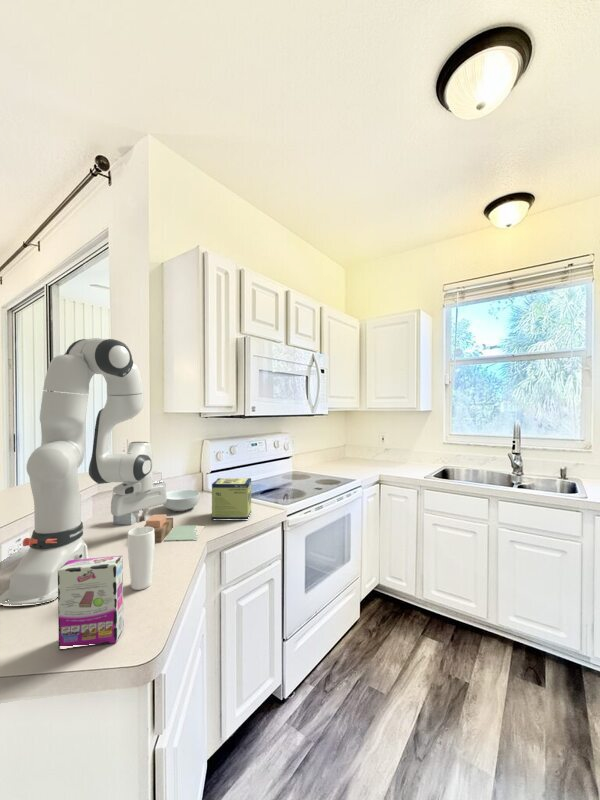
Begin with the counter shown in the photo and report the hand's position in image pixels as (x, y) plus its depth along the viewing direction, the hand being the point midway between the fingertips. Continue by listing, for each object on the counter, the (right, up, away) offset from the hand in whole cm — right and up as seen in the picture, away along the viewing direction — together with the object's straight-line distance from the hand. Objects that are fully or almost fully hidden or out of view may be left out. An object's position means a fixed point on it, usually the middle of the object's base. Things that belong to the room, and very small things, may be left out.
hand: (140, 521), depth 130 cm
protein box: (+30, -5, +21) cm, 37 cm away
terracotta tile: (+6, -1, 0) cm, 6 cm away
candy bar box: (+16, -5, -56) cm, 59 cm away
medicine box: (-12, -5, +13) cm, 19 cm away
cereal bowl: (+5, -5, +31) cm, 32 cm away
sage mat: (+16, -5, +2) cm, 17 cm away
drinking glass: (+16, -5, -35) cm, 39 cm away
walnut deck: (+6, -5, 0) cm, 8 cm away
